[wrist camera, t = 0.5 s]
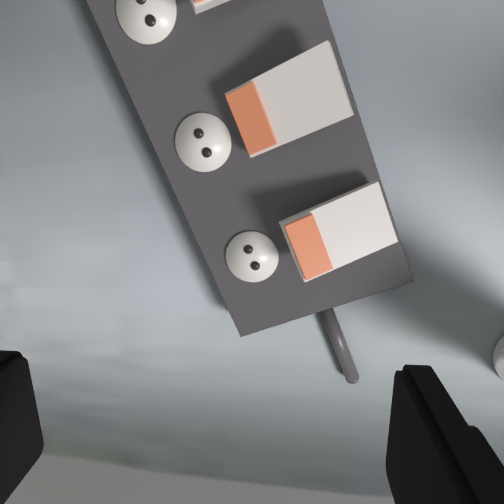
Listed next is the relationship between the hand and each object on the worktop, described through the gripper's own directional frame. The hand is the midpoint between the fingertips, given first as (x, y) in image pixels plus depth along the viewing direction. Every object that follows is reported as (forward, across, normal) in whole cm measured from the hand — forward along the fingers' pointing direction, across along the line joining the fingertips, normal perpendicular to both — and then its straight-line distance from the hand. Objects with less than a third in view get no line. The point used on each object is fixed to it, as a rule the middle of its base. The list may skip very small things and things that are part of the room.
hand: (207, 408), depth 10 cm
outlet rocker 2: (+19, -5, 0) cm, 20 cm away
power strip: (+23, -1, -4) cm, 23 cm away
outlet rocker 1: (+19, -2, -8) cm, 21 cm away
